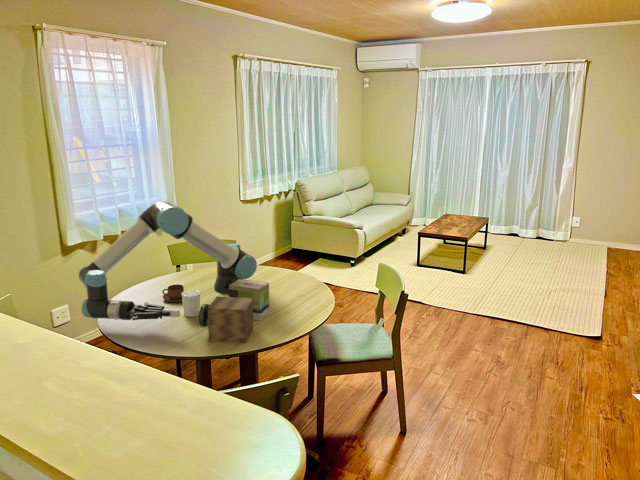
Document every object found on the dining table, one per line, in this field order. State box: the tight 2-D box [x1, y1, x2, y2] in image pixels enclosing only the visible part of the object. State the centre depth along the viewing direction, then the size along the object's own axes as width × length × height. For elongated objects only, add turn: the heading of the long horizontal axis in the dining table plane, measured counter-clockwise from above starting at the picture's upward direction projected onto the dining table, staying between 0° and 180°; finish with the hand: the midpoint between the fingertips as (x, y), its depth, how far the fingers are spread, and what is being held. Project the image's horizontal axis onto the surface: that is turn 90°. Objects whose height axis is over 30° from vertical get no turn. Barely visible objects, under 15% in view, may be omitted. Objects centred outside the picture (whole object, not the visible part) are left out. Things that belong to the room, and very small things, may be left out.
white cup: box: [181, 289, 201, 318], centre depth 210 cm, size 8×8×10 cm
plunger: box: [198, 303, 210, 328], centre depth 191 cm, size 16×9×9 cm, turn 85°
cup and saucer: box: [161, 284, 185, 303], centre depth 227 cm, size 12×12×6 cm
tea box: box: [228, 279, 270, 322], centre depth 211 cm, size 15×10×15 cm, turn 71°
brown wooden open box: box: [207, 296, 254, 344], centre depth 191 cm, size 15×12×14 cm
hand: (178, 313), depth 192 cm, fingers closed
